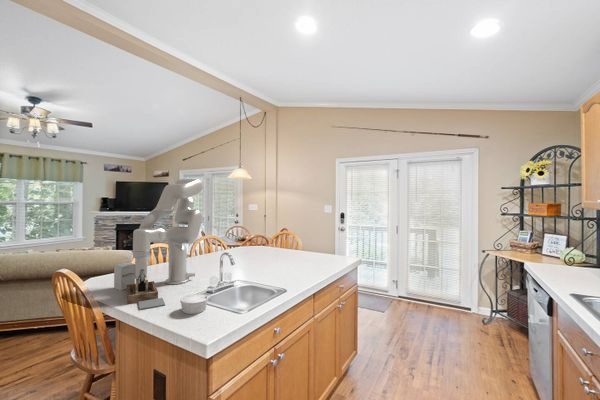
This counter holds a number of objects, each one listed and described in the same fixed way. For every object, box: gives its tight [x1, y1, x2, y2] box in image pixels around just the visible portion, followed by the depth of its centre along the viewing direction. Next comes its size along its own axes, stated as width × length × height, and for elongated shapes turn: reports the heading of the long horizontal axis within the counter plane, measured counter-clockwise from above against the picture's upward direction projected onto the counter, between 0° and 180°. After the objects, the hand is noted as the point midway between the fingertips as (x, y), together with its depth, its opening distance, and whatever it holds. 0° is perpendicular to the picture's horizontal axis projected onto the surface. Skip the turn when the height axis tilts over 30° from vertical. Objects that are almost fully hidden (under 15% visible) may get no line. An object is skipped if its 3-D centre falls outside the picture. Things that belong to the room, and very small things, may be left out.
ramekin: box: [179, 293, 209, 315], centre depth 124 cm, size 11×11×5 cm
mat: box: [137, 297, 166, 311], centre depth 131 cm, size 10×10×1 cm
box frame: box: [126, 280, 159, 305], centre depth 143 cm, size 12×20×4 cm, turn 32°
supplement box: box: [113, 262, 136, 291], centre depth 154 cm, size 7×7×13 cm
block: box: [135, 276, 149, 294], centre depth 143 cm, size 5×5×8 cm
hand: (141, 288), depth 142 cm, fingers open, 9 cm apart
